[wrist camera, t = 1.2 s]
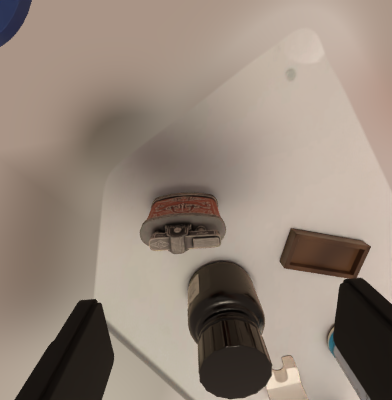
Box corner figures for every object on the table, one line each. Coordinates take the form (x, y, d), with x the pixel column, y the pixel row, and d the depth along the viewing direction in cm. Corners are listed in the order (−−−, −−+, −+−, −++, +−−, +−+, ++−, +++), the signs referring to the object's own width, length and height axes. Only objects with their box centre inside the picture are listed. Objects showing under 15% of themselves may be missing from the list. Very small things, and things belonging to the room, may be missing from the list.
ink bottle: (177, 270, 32) (169, 351, 21) (238, 248, 31) (266, 319, 20) (203, 322, 35) (209, 419, 24) (260, 303, 34) (295, 393, 23)
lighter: (153, 220, 30) (136, 266, 20) (150, 194, 29) (131, 230, 19) (217, 216, 30) (230, 260, 20) (216, 190, 29) (230, 224, 19)
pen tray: (279, 261, 32) (283, 268, 31) (290, 228, 31) (296, 233, 29) (348, 272, 33) (355, 279, 31) (362, 240, 31) (371, 246, 30)
